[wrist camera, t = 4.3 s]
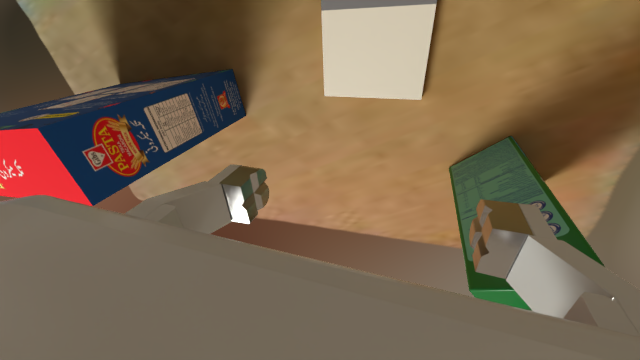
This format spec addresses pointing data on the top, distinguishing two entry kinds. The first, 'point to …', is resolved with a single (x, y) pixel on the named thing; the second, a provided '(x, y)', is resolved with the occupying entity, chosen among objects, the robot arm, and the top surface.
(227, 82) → the pasta box
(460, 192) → the milk carton
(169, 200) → the robot arm
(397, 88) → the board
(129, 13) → the top surface
